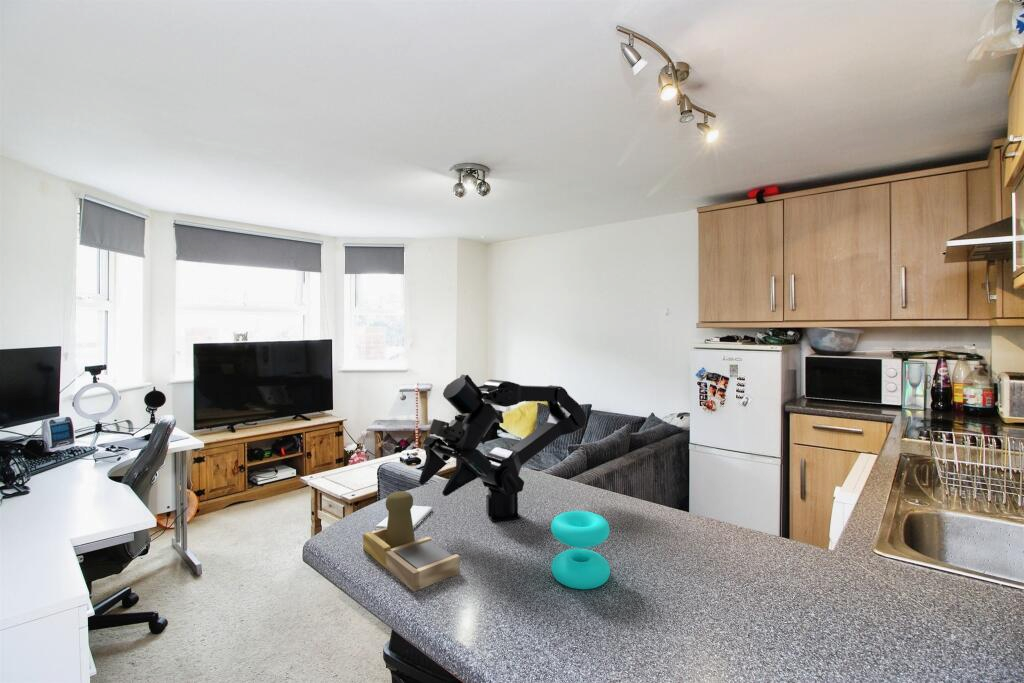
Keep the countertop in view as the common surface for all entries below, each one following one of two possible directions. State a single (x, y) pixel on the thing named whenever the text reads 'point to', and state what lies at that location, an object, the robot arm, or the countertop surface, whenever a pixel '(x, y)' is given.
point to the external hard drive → (416, 514)
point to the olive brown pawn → (399, 519)
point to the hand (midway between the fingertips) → (431, 489)
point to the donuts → (580, 549)
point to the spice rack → (412, 559)
